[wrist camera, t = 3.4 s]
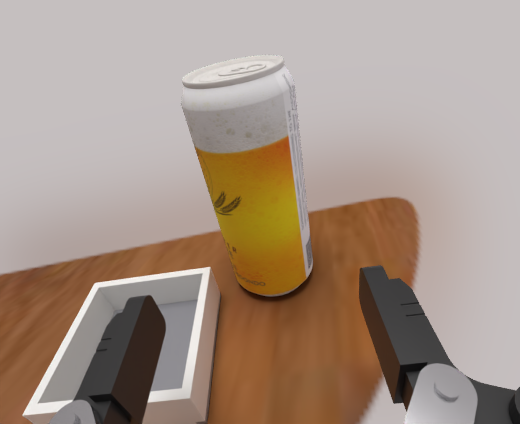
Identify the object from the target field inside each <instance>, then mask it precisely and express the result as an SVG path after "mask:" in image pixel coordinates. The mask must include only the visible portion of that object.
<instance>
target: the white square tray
mask: <svg viewBox="0 0 520 424" xmlns="http://www.w3.org/2000/svg"><path fill="white" fill-rule="evenodd" d="M144 295H151V296H152V297H153V299H154V301H155V302H156V304H157V306H158V308H159V309H160V311H161V313H162V315H163V316H164V319H165V322H166V333H165V337H164V341H163V345H162V349H161V353H160V357H159V360H158V364H157V368H156V372H155V376H154V380H153V383H152V387H151V391H150V395H149V399H148V403H147V406H146V410H145V414H144V418H143V422H142V424H207V420H208V411H209V402H210V392H211V383H212V374H213V364H214V355H215V346H216V336H217V327H218V318H219V308H220V299H221V294H220V291H219V288H218V286H217V283H216V280H215V278H214V275H213V272H212V270H211V267H206V268H199V269H192V270H185V271H178V272H170V273H163V274H156V275H149V276H142V277H135V278H127V279H120V280H113V281H106V282H99V283H95V284H94V286H93V288H92V289H91V291H90V293H89V295H88V297H87V299H86V300H85V302H84V304H83V306H82V308H81V309H80V311H79V313H78V315H77V317H76V319H75V320H74V322H73V324H72V326H71V328H70V330H69V331H68V333H67V335H66V337H65V339H64V340H63V342H62V344H61V346H60V348H59V350H58V351H57V353H56V355H55V357H54V359H53V361H52V362H51V364H50V366H49V368H48V370H47V371H46V373H45V375H44V377H43V379H42V381H41V382H40V384H39V386H38V388H37V390H36V392H35V393H34V395H33V397H32V399H31V401H30V402H29V404H28V406H27V408H26V410H25V412H24V413H23V415H22V416H24V417H25V418H27V419H28V420H29V421H31V422H32V423H34V424H48V423H49V422H50V420H51V419H52V417H53V416H54V415H55V414H56V413H57V412H58V411H59V410H60V409H61V408H62V407H64V406H65V405H67V404H68V403H70V402H72V401H73V400H74V398H75V396H76V394H77V392H78V389H79V387H80V385H81V383H82V380H83V378H84V376H85V374H86V371H87V369H88V367H89V365H90V362H91V360H92V358H93V356H94V353H96V349H97V347H98V344H99V342H101V338H102V335H103V333H104V331H105V329H106V326H107V325H108V324H109V322H110V321H111V320H112V319H113V318H114V316H115V315H116V314H117V313H122V312H123V309H124V307H125V304H126V302H127V300H128V299H129V298H130V297H137V296H144Z"/></svg>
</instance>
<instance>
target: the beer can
mask: <svg viewBox="0 0 520 424" xmlns="http://www.w3.org/2000/svg"><path fill="white" fill-rule="evenodd" d="M182 82H183V85H184V86H183V95H182V103H181V105H182V108H183V112H184V115H185V118H186V121H187V124H188V127H189V131H190V134H191V137H192V140H193V143H194V146H195V150H196V153H197V156H198V159H199V162H200V165H201V168H202V172H203V175H204V178H205V181H206V184H207V187H208V191H209V194H210V197H211V200H212V203H213V206H214V210H215V213H216V216H217V219H218V222H219V225H220V229H221V232H222V235H223V238H224V241H225V244H226V248H227V251H228V254H229V257H230V260H231V263H232V266H233V270H234V273H235V276H236V279H237V281H238V282H239V283H240V285H241V286H242V287H244V288H245V289H247V290H248V291H250V292H253V293H256V294H259V295H262V296H269V297H273V296H280V295H284V294H287V293H289V292H291V291H293V290H295V289H296V288H297V287H298V286H299V285H301V284H302V283H303V282H304V281H305V280H306V279H307V277H308V276H309V274H310V272H311V270H312V266H313V258H312V249H311V239H310V230H309V220H308V210H307V201H306V191H305V183H304V172H303V162H302V153H301V144H300V134H299V124H298V115H297V105H296V95H295V86H294V80H293V78H292V76H291V75H290V73H289V71H288V69H287V68H286V66H285V64H284V59H283V57H281V56H277V55H259V56H250V57H244V58H238V59H233V60H228V61H223V62H219V63H216V64H212V65H209V66H206V67H203V68H200V69H197V70H195V71H192V72H190V73H189V74H187V75H186V76H184V77H183V78H182Z"/></svg>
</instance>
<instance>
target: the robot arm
mask: <svg viewBox="0 0 520 424" xmlns="http://www.w3.org/2000/svg"><path fill="white" fill-rule="evenodd" d="M359 299H360V304H361V309H362V312H363V315H364V318H365V321H366V324H367V327H368V330H369V333H370V336H371V338H372V341H373V344H374V347H375V350H376V353H377V356H378V359H379V362H380V365H381V368H382V371H383V374H384V377H385V380H386V383H387V385H388V388H389V391H390V394H391V397H392V400H393V403H394V404H395V403H404V406H405V409H406V411H407V413H406V417H405V420H404V423H403V424H520V387H519V388H518V389H517V391H515V390H511V389H506V388H501V387H497V386H492V385H488V384H484V383H480V382H477V381H475V380H473V379H471V378H469V377H467V376H466V375H464V374H463V373H462V372H460V371H459V370H458V369H457V368H456V367H455V366H454V365H453V364H452V362H451V361H450V359H449V358H448V356H447V354H446V352H445V350H444V349H443V347H442V345H441V343H440V341H439V339H438V337H437V335H436V334H435V332H434V330H433V328H432V326H431V324H430V322H429V320H428V319H427V317H426V316H425V313H424V311H423V309H422V307H421V306H420V305H419V302H418V300H417V298H416V296H415V294H414V292H413V290H412V289H411V288H410V287H409V286H408V285H407V284H406V283H404V282H403V281H402V280H401V279H400V278H397V279H390V280H389V279H388V277H387V274H386V272H385V270H384V268H383V267H382V266H381V265H380V266H372V267H365V268H360V277H359ZM165 333H166V322H165V319H164V316H163V315H162V313H161V311H160V309H159V308H158V306H157V304H156V302H155V301H154V299H153V297H152V296H151V295H144V296H137V297H130V298H129V299H128V300H127V302H126V304H125V307H124V309H123V312H122V313H117V314H116V315H115V316H114V318H113V319H112V320H111V321H110V322H109V324H108V325H107V326H106V329H105V331H104V333H103V335H102V338H101V342H99V344H98V347H97V349H96V353H94V356H93V358H92V360H91V362H90V365H89V367H88V369H87V371H86V374H85V376H84V378H83V380H82V383H81V385H80V387H79V389H78V392H77V394H76V396H75V398H74V400H73V401H72V402H70V403H68V404H67V405H65V406H64V407H62V408H61V409H60V410H59V411H58V412H57V413H56V414H55V415H54V416H53V417H52V419H51V420H50V422H49V423H48V424H142V422H143V418H144V414H145V410H146V406H147V403H148V399H149V395H150V391H151V387H152V383H153V380H154V376H155V372H156V368H157V364H158V360H159V357H160V353H161V349H162V345H163V341H164V337H165Z"/></svg>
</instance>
